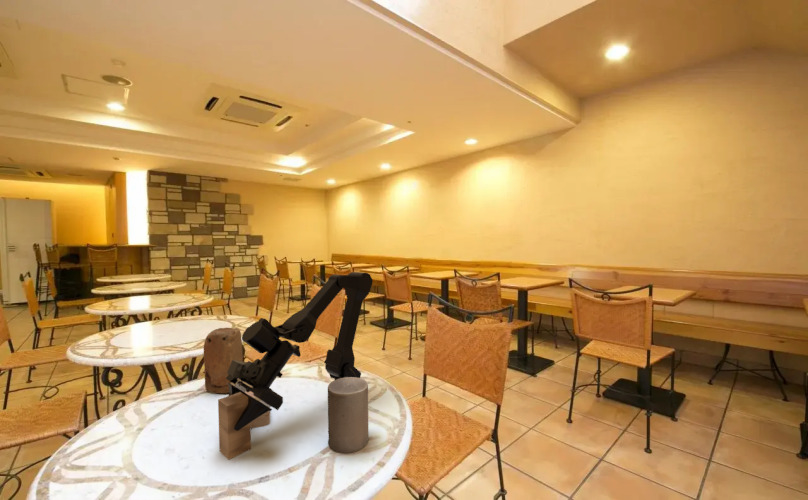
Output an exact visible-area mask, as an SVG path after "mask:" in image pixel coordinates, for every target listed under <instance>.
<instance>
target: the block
mask: <svg viewBox="0 0 808 500" xmlns="http://www.w3.org/2000/svg"><path fill="white" fill-rule="evenodd" d="M203 343H204V344H203V366H204V370H205V371H204V387H205V390H206V391H207V392H211V393H217V394H229V386H228V383H230V384H231V382H230V381H229V380H227V379H226V377H227V376H228V375H229V374H227V371H228V369H229V367H230V364H231V362H232V360H237V361H243V340H242V333H241V329H240V328H236V327H235V328H232V327H218V328H216V329H213V330H212V331H210V332H209V333H208V334H207V336H206V337H205V340H204V342H203ZM243 362H244V361H243Z"/></svg>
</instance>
